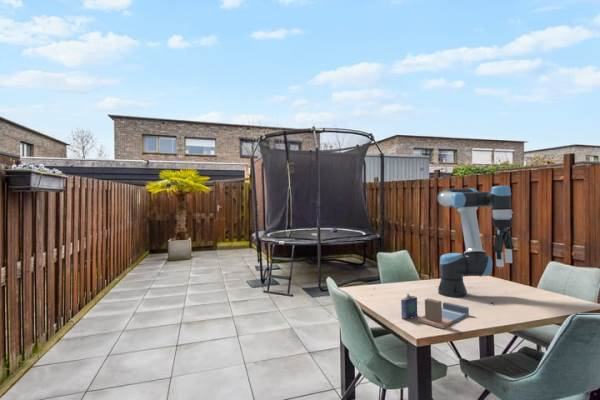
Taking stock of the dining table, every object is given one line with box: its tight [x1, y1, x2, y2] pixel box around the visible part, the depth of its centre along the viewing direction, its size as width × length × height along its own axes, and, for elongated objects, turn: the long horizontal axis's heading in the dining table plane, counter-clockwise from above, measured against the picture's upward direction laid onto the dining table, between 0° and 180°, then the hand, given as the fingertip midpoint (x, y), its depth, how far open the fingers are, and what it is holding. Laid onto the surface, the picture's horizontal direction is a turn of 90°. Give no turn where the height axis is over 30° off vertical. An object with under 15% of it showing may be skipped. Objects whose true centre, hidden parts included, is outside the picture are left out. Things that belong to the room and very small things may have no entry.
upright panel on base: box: [417, 297, 453, 329], centre depth 133 cm, size 11×9×10 cm
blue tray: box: [442, 301, 470, 324], centre depth 141 cm, size 11×16×4 cm
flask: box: [400, 293, 418, 320], centre depth 141 cm, size 9×3×11 cm, turn 117°
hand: (504, 264), depth 140 cm, fingers open, 13 cm apart
